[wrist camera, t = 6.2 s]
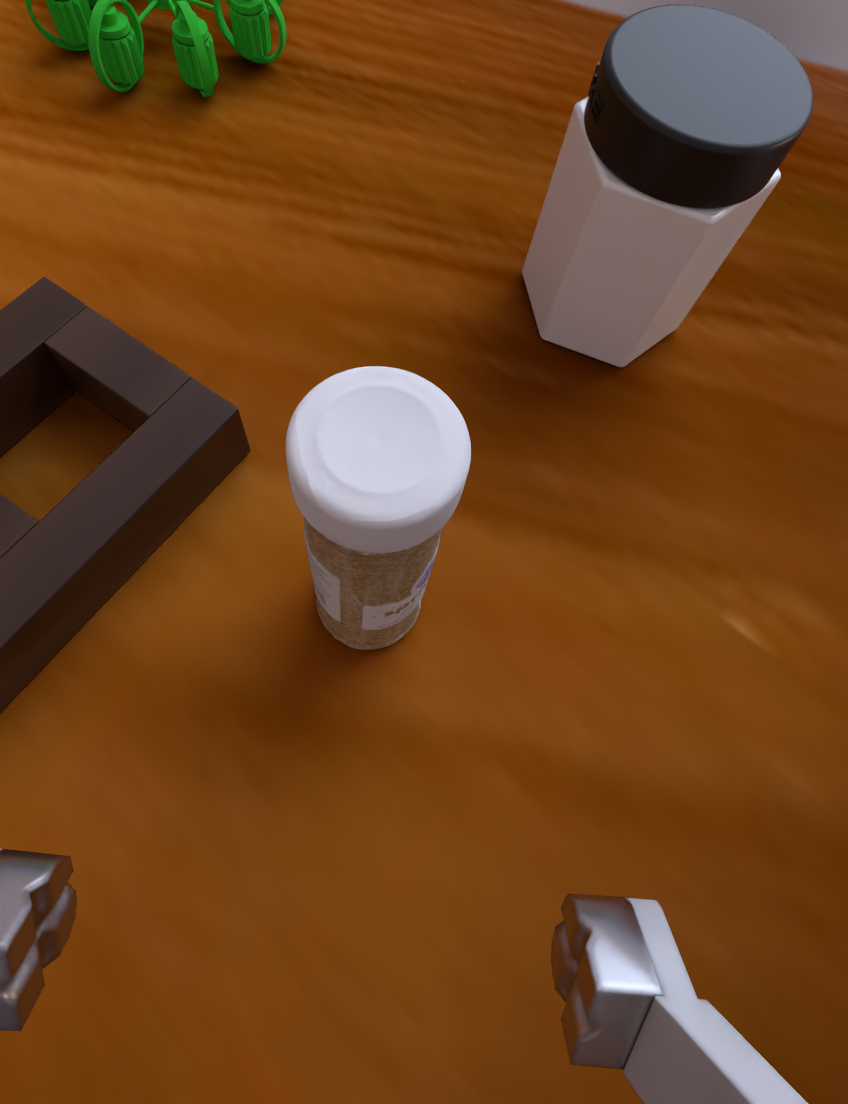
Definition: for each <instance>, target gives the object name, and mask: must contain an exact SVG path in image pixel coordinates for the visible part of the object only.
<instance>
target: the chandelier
mask: <svg viewBox="0 0 848 1104" xmlns="http://www.w3.org/2000/svg"><path fill="white" fill-rule="evenodd" d="M25 1H26V5H27V8H28V11H29V14H30V16H31V18H32V20H33V22H34V24H35V25H36V27H37V28H38V30H39V31H40V32H41V33H42V34H43V35H44V36H45V37H46V38H47V39H48V40H49V41H51V42H52V43H54V44H55V45H57V46H59V47H62V48H64V49H67V50H72V51H85V50H89V51H90V57H91V61H92V64H93V67H94V70H95V72H96V74H97V76H98V77H99V79H100V80H101V82H102V83H103V84H104V85H105V86H107V87H108V88H110V89H113V90H116V91H119V92H126V91H128V90H130V89H131V88H132V87H133V86H134V85H135V83H136V82H137V81H139V80H140V79H141V78H142V77H143V75H144V70H145V67H144V64H143V54H144V45H143V35H142V29H141V25H140V23H141V22H142V21H143V20H144V18H145V17H146V16H147V15H148V14H149V13H150V12H151V10H152V9H153V8H154V7H155V8H157V9H162V10H172V12H173V14H174V16H175V18H176V20H174V22H173V23H172V30H173V37H172V40H173V47H174V51H175V55H176V59H177V64H178V68H179V72H180V76H181V78H182V79H183V81H184V82H185V83H186V84H187V85H189V86H190V87H193V88H196V89H199V91H200V93H201V95H202V96H203V97H209V96H213V94H214V86H213V85H214V84H215V83H216V82H217V80H218V76H219V72H218V67H217V62H216V56H215V51H214V46H213V40H212V37H211V35H210V33H209V31H208V28H207V24H206V23H205V21H204V20H202V19H201V18H199V17H197V16H196V13H195V12H194V11H192V10H191V8H190V6H189V4H188V3H187V2H189V3H192V4H195V5H198V6H200V7H203V8H206V9H209V10H212V11H215V16H216V19H217V22H218V25H219V27H220V29H221V31H222V33H223V35H224V37H225V38H226V40H227V41H228V42H229V44H230V45H231V46H232V47H233V48H234V49H235V50H236V51H237V52H238V53H239V54H240V55H242V56H243V57H245V58H246V59H248V60H250V61H252V62H255V63H259V64H267V63H271V62H273V61H274V60H276V59H277V58H278V56H279V55H280V53H281V52H282V51H283V49H284V46H285V43H286V25H285V21H284V17H283V15H282V12H281V10H280V8H279V6H280V4H281V3H282V1H283V0H231V1H230V0H226V2H227V4H228V5H229V6H230V18H231V24H232V30H233V35H232V33H231V32H230V30H229V28H228V26H227V25H226V22H225V20H224V17H223V14H222V10H221V3H220V0H214V6H213V5H210V4H207V3H205V2H202V1H199V0H146V1H147V2H148V3H149V5H148V6H147V7H146V9H145V10H144V11H143V12H142V13H141V14H140V15H139V17H138V16H137V14H136V12H135V10H134V8H133V7H132V6H131V4H130V3H129V2H128V1H127V0H46V3H47V5H48V8H49V11H50V13H51V16H52V18H53V21H54V23H55V26H56V29H57V31H58V33H59V36H60V37H61V38H62V39H63V40H64V41H63V40H61V39H58V38H56V37H55V36H53V35H51V34H50V33H49V32H47V31H46V30H45V29H44V28H43V27H42V26H41V25H40V23H39V22H38V21H37V19H36V17H35V16H34V14H33V11H32V7H31V0H25ZM115 2H119V3H120V4H121V5H122V6H123V7H124V9H125V10H126V12H127V14H128V17H129V19H130V22H131V25H129V22H128V18H127V17H126V15H125V14H123V13H122V12H120V11H117V10H116V8H115V6H113V5H112V3H115ZM89 5H90V6H93V7H94V8H93V11H92V12H91V9H90V6H89ZM272 13H274V15H275V17H276V20H277V23H278V26H279V31H280V45H279V48H278V51H277V52H276V53H274V54H273V55H270V56H266V55H268V54H269V52H270V50H271V47H272V46H271V33H270V24H269V15H270V14H272ZM131 26H132V27H131ZM74 30H75V31H74ZM75 33H76V34H75ZM84 36H85V37H84ZM78 41H79V42H78ZM255 41H256V42H255ZM256 49H257V50H256ZM249 50H250V51H249ZM101 60H102V62H101ZM126 62H127V63H126ZM102 63H103V65H102ZM103 66H104V68H103ZM104 69H105V71H104ZM105 72H106V73H105ZM106 74H107V75H108V76H109V77H110V78H111V79H112V80H113V81H115V82H118V83H121V84H120V85H117V86H115V85H113V84H112V83H111V81H110V80H109V79H108V77H107V75H106Z"/></svg>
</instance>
